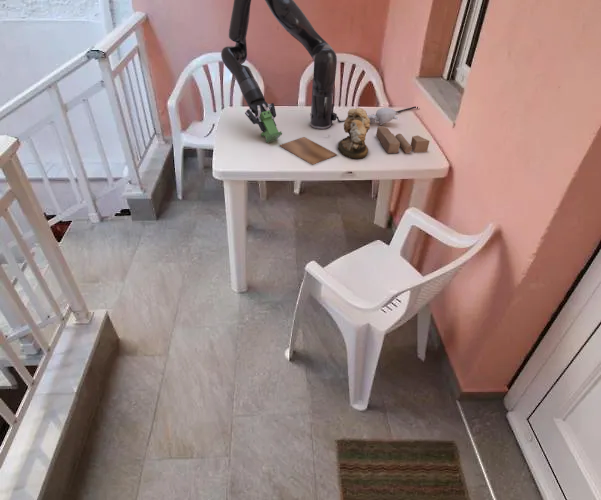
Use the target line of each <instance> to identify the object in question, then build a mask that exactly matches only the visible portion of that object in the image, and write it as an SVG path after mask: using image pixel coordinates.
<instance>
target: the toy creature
mask: <svg viewBox="0 0 601 500" xmlns="http://www.w3.org/2000/svg"><path fill="white" fill-rule="evenodd" d="M396 111H397V110H395V109H393V108H388V107H382V108H379V109H378V110H377V111H376V112H375V114H367V116H368V118H369V119H370V123H372V122H373V123H375V122H378V124H379V126H382V125H384V124H386V123H390V122H391V121H393V120H397V121H398V120H399V121H400V118H399V117H398V116H397V115H401V112H398V113H397V112H396Z"/></svg>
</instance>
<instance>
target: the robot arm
mask: <svg viewBox="0 0 601 500" xmlns="http://www.w3.org/2000/svg"><path fill="white" fill-rule="evenodd" d="M264 2H265V3H266V5H267V7H268V8H269V11H270V13H271V14H272V15H273V17H274V18H275V19H276V21H277V22H278V23H279V24H280V25H281V27H282V28H283V29H284V30H285V31H286V32H287V33H288V34H289V35H290V36H291V37H293V38H294V39H295V40H297V41H298V42H299V43H300V44H301V45H302V46H303V47H304V49H305V50H306V51H307V52H308V54H309V56H310V57H311V59H312V60H313V75H312V76H313V77H312V79H311V80H312V81H311V83H312V84H311V104H310V112H309V116H310V123H309V126H310V127H311V128H313V129H317V130H326V129H329V128H331V126H333V123H334V122H335V121H337V122H339V123H345V122H344V121H345V120H341V119H340V118H339V116H338V114H337V113H336V112H334V109H335V108H334V107H335V103H333V101H334V88H335V81H336V73H337V63H338V57H337V53H336V51H335V49H334V48H333V47H332V46H331V45H330V44H329V43H328V42H327V41H326V40H325V39H324V38H323V37H322V36H321V35H320V34H319V33H318V32H317V30H315V28H314V26H313V25H312V24H311V22H310V20H309V19H308V17H307V16H306V14H305V13H304V12H303V10H302V9H301V8H300V6H299V5H298V4H297V2H296V1H295V0H264ZM251 4H252V0H233V4H232V10H231V15H230V21H229V28H228V39H229V40H230V41H232V42H234V43H235V45H227V46H224V47H223V48H222V49H221V52H220V57H221V60H222V63H223V64H224V66H225V68H227V70H228V71H229V72H230V73H231V75H233V77H234V79H235V80H236V82H237V84H238V86H239V89H240V92H241V94H242V97H243V99H244V100H245V102H246V104H247V107H249V108H248V109H246V111H245V112H244V114H245V116H246V117H247V118H248V119H249V121H250V122H251V123H252V125H258V127H259V129H260V131H261V132H265V131H266V128H265V126H264V124H263V122H262V119H261V113H262V112H265V111H268V110H270V112H271V114H272V119H273V121H274V123H275V125H276V126H277V124H276V121H275V118H276V117H277V112H276V107H275V104H274V102H271V103H268V102H267V101H266V100H265V96H264V94H263V91H262V89H261V87H260V86H259V83H258V82H257V80H256V78H255V76H254V75H253V72H252V71H251V69H250V67H249V66H248V65H244V63H245V62H247V61H246V60H247V58H248V49H247V48H248V45H247V35H248V30H249V23H250V15H251ZM416 106H417V105H416ZM416 106H412V107H408V108H403V109H400V110H395V111H396V112H397V113H401V112H404V111H405V112H406V111H410V110H413V109H417V110H419V109H418V107H419V106H417V108H416Z"/></svg>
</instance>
